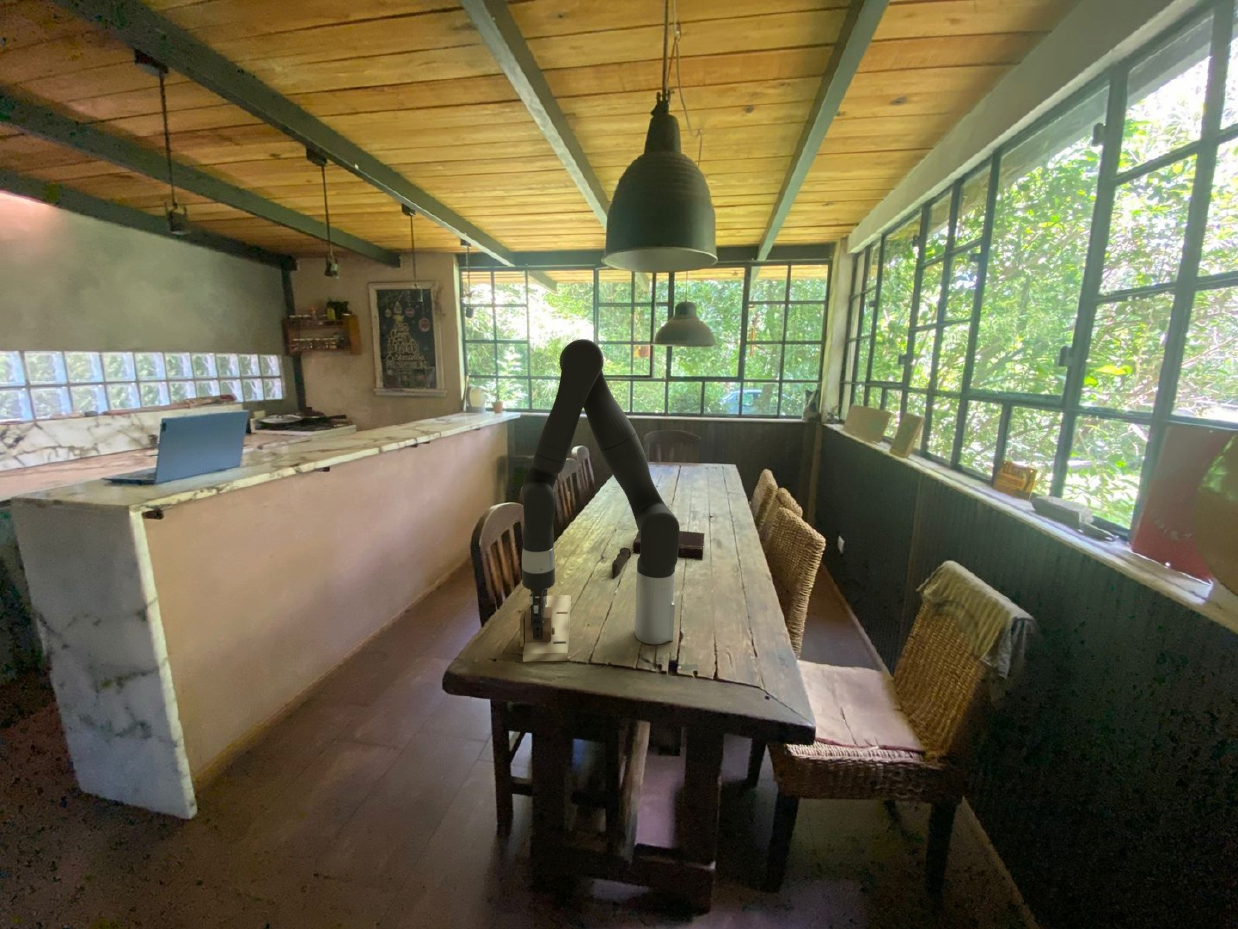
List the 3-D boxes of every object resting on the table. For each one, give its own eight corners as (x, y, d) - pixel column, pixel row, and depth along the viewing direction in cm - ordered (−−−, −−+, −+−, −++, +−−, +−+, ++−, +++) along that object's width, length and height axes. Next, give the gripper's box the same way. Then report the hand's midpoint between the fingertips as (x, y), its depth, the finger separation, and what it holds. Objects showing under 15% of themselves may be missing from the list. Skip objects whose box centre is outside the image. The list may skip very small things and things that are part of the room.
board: (570, 601, 136) (570, 594, 135) (567, 660, 108) (567, 651, 108) (535, 602, 135) (535, 595, 134) (522, 661, 107) (522, 652, 107)
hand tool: (620, 557, 170) (620, 544, 169) (631, 558, 169) (631, 545, 168) (604, 578, 152) (605, 565, 151) (617, 580, 151) (617, 566, 150)
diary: (702, 562, 168) (703, 548, 167) (632, 555, 173) (633, 542, 172) (704, 543, 186) (704, 531, 185) (640, 537, 191) (641, 525, 190)
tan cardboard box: (555, 634, 117) (555, 607, 115) (554, 646, 112) (554, 617, 111) (523, 635, 116) (522, 607, 115) (520, 646, 111) (519, 618, 110)
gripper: (552, 578, 104) (553, 649, 107) (556, 553, 118) (556, 616, 121) (517, 578, 103) (519, 650, 106) (525, 553, 117) (526, 617, 120)
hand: (539, 632), depth 114 cm, fingers closed on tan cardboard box, 5 cm apart
